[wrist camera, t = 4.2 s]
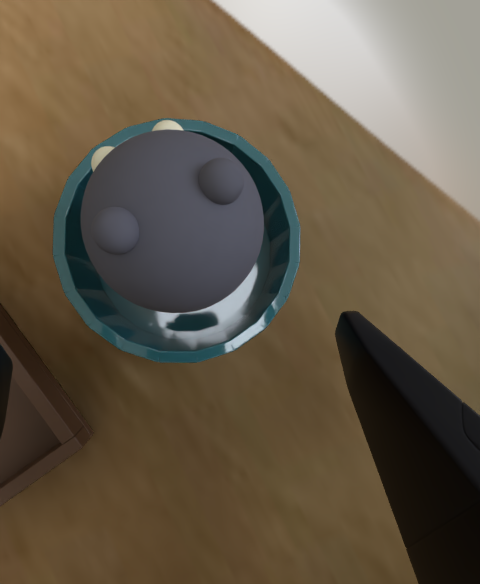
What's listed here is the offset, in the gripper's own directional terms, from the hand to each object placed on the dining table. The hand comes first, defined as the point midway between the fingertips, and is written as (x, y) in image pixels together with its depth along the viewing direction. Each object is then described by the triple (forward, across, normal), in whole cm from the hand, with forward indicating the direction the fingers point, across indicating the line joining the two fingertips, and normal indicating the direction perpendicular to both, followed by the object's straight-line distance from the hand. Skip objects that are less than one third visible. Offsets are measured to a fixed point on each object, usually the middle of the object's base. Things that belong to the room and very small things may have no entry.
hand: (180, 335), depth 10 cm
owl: (+9, 0, +5) cm, 10 cm away
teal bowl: (+10, 0, +5) cm, 11 cm away
